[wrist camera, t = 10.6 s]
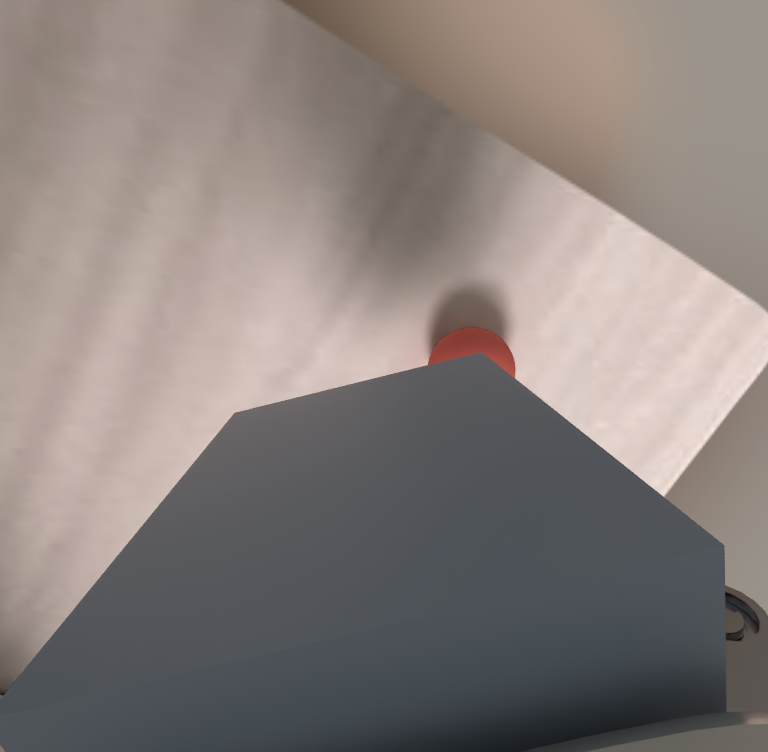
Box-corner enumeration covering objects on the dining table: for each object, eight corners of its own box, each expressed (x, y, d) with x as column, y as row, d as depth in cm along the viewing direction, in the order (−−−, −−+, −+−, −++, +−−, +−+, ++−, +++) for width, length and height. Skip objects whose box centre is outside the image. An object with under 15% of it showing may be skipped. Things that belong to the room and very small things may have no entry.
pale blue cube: (518, 559, 15) (729, 966, 6) (307, 610, 15) (233, 1074, 6) (481, 352, 13) (724, 545, 4) (234, 412, 13) (-18, 720, 4)
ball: (462, 394, 29) (534, 394, 25) (421, 425, 25) (500, 429, 22) (447, 323, 27) (521, 313, 24) (402, 344, 24) (482, 336, 21)
